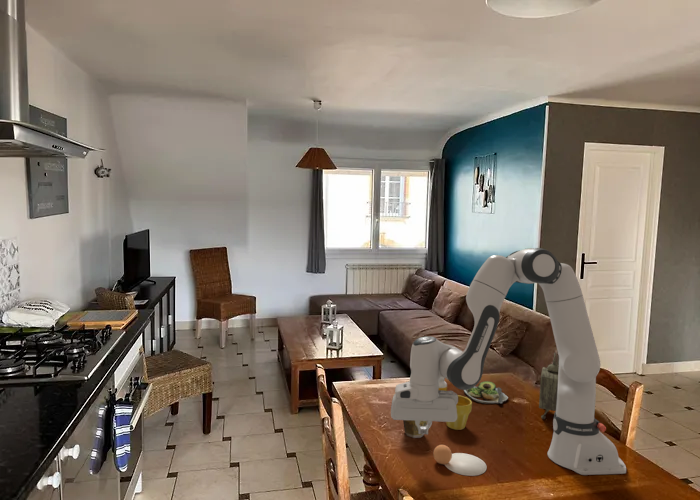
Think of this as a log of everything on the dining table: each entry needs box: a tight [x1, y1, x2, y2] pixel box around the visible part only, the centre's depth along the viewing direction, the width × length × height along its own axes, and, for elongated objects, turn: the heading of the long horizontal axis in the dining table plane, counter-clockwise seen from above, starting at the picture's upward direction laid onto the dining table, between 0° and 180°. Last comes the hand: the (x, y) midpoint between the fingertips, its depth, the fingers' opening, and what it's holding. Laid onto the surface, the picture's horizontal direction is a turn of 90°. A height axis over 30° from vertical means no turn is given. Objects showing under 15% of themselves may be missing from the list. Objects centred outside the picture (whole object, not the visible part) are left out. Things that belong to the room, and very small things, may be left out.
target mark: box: [443, 452, 488, 477], centre depth 148 cm, size 13×13×1 cm
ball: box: [433, 444, 453, 465], centre depth 148 cm, size 6×6×6 cm
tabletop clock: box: [538, 352, 559, 420], centre depth 186 cm, size 14×9×25 cm, turn 155°
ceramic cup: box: [402, 420, 427, 439], centre depth 169 cm, size 13×10×10 cm
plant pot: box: [445, 394, 473, 431], centre depth 175 cm, size 10×10×10 cm
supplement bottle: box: [439, 377, 448, 391], centre depth 192 cm, size 7×7×13 cm
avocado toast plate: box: [463, 380, 509, 405], centre depth 204 cm, size 19×18×5 cm
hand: (423, 433), depth 148 cm, fingers closed
